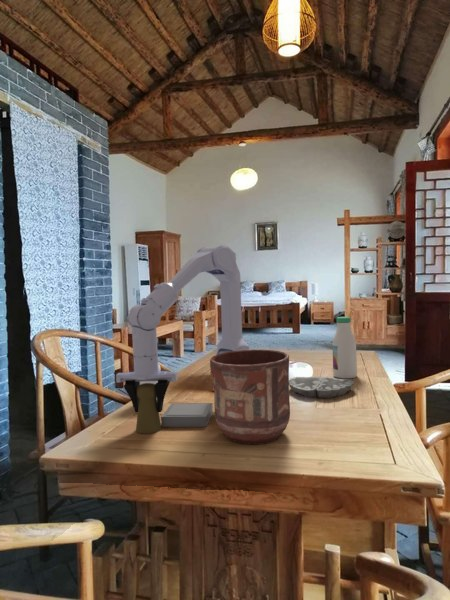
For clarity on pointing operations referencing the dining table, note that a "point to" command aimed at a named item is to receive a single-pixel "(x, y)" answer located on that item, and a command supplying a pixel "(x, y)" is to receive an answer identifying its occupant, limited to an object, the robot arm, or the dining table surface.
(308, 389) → the brain slice
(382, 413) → the dining table surface
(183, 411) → the grey flat square block
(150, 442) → the dining table surface
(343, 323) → the milk bottle
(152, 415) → the olive bowling pin
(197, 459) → the dining table surface
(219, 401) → the pottery
